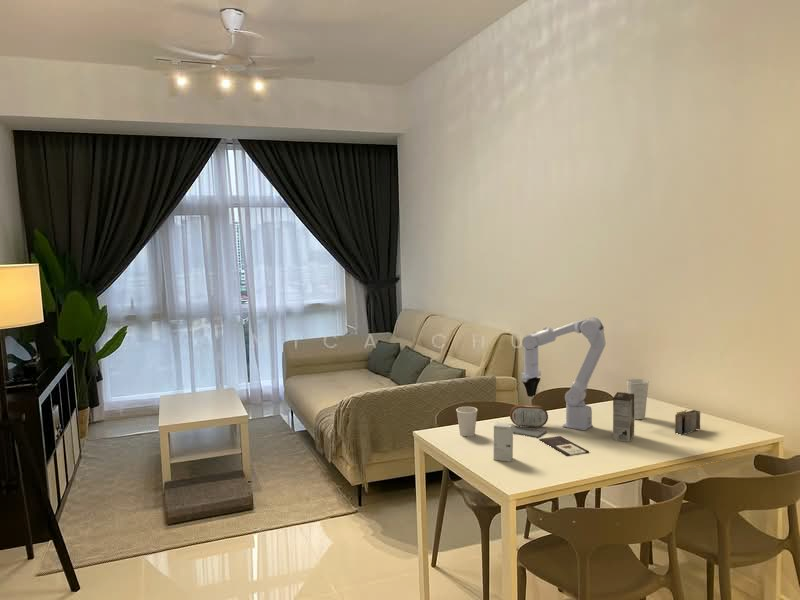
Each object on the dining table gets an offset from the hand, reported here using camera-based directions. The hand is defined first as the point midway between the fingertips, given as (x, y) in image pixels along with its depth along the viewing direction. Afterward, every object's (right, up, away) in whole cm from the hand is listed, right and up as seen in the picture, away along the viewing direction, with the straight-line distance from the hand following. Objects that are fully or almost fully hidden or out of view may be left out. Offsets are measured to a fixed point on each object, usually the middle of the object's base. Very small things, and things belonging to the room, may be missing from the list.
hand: (531, 395), depth 248 cm
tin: (-3, -11, -8) cm, 14 cm away
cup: (+44, -9, 0) cm, 45 cm away
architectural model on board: (+56, -11, -19) cm, 60 cm away
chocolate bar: (+5, -14, -31) cm, 34 cm away
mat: (-7, -12, -13) cm, 19 cm away
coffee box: (+29, -12, -24) cm, 40 cm away
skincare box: (-19, -15, -42) cm, 48 cm away
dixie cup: (-28, -13, -15) cm, 34 cm away
